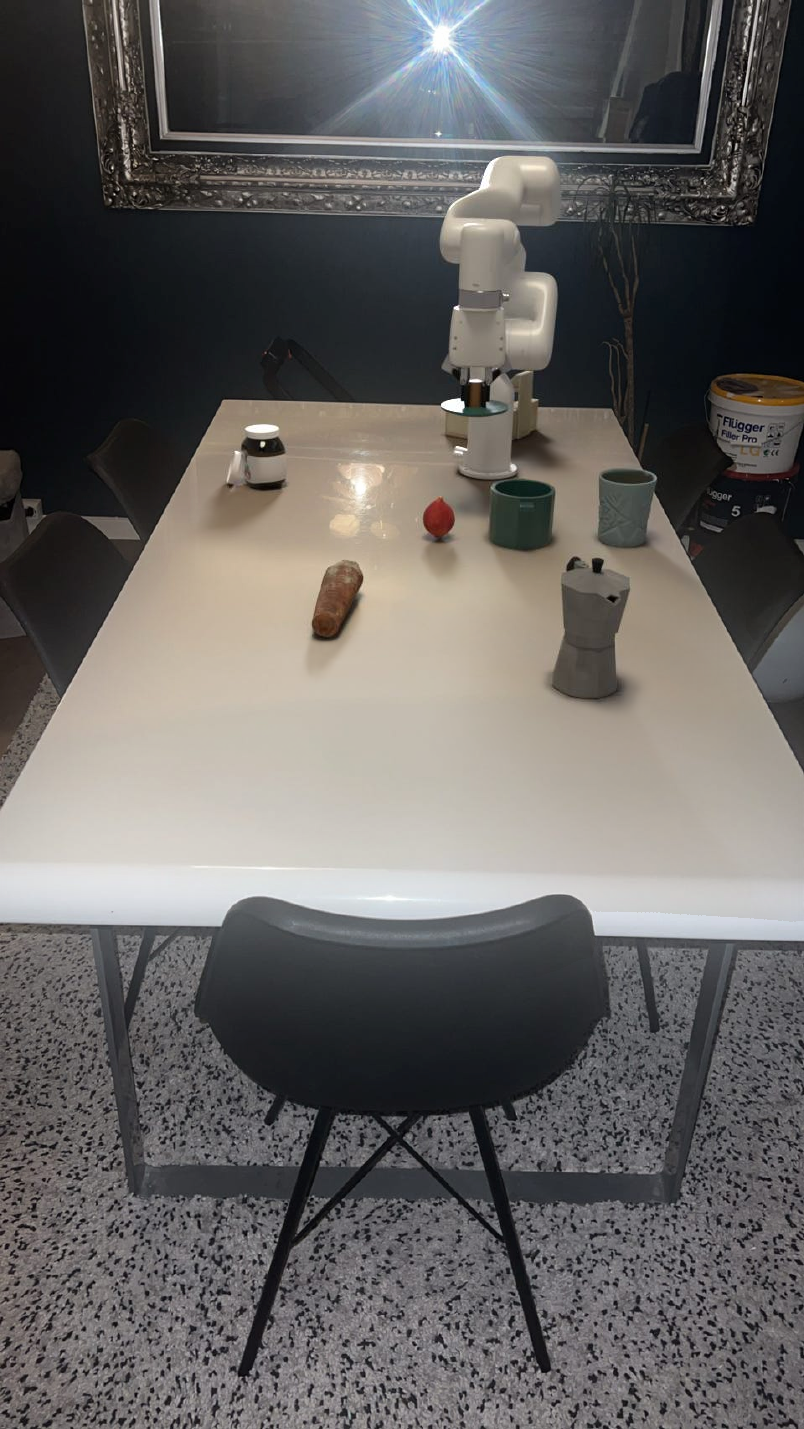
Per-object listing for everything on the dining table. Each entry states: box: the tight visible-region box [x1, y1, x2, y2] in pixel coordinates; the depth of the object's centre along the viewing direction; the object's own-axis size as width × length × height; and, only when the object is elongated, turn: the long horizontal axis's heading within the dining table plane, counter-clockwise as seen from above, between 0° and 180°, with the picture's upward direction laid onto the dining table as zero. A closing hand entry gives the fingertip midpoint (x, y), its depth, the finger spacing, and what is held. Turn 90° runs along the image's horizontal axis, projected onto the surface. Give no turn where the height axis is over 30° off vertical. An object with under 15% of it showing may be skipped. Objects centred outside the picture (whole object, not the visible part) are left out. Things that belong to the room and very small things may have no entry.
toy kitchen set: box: [444, 370, 539, 441], centre depth 254 cm, size 18×17×15 cm
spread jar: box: [226, 423, 288, 490], centre depth 215 cm, size 12×11×12 cm
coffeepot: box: [551, 556, 631, 699], centre depth 137 cm, size 15×9×18 cm, turn 13°
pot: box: [487, 477, 557, 551], centre depth 188 cm, size 11×17×10 cm
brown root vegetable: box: [311, 559, 364, 638], centre depth 158 cm, size 6×19×6 cm, turn 171°
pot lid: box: [440, 379, 508, 417], centre depth 192 cm, size 12×12×6 cm
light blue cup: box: [597, 467, 658, 548], centre depth 188 cm, size 10×10×12 cm
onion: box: [422, 495, 456, 539], centre depth 188 cm, size 6×6×8 cm
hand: (474, 404), depth 193 cm, fingers closed on pot lid, 2 cm apart
